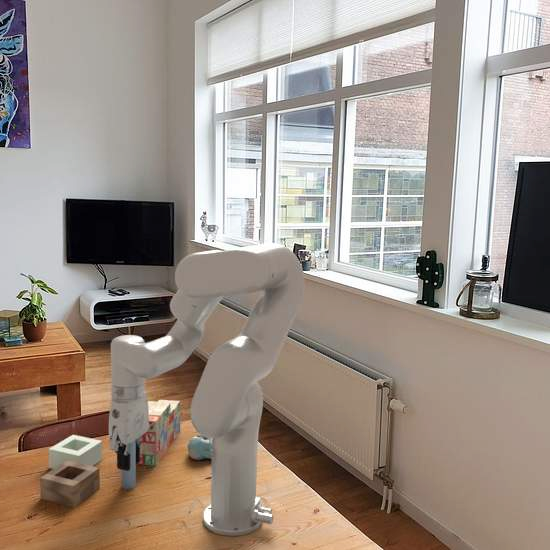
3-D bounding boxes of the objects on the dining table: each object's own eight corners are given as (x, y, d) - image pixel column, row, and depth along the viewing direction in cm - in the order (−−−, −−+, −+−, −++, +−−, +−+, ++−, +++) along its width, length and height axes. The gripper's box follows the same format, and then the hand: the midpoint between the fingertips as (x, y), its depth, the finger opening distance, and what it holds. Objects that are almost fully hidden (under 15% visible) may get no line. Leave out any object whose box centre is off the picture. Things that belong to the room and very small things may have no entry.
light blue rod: (138, 484, 140) (138, 419, 137) (130, 490, 137) (130, 424, 134) (126, 481, 141) (126, 417, 138) (118, 487, 138) (118, 422, 136)
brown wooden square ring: (99, 488, 138) (99, 467, 137) (74, 507, 129) (73, 486, 128) (67, 480, 141) (67, 460, 140) (40, 498, 132) (40, 477, 131)
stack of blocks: (159, 430, 171) (159, 388, 169) (180, 431, 170) (180, 390, 168) (131, 464, 150) (131, 418, 148) (155, 466, 149) (156, 420, 147)
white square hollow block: (102, 459, 151) (102, 440, 151) (79, 475, 143) (79, 455, 142) (73, 452, 154) (73, 434, 154) (49, 468, 146) (48, 448, 145)
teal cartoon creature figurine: (240, 433, 157) (208, 439, 148) (236, 460, 157) (203, 467, 148) (211, 422, 164) (179, 426, 155) (207, 447, 164) (175, 454, 155)
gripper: (121, 404, 126) (121, 485, 129) (161, 381, 142) (161, 454, 145) (91, 399, 129) (92, 478, 132) (134, 377, 144) (134, 448, 147)
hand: (128, 464), depth 138 cm, fingers closed on light blue rod, 3 cm apart
